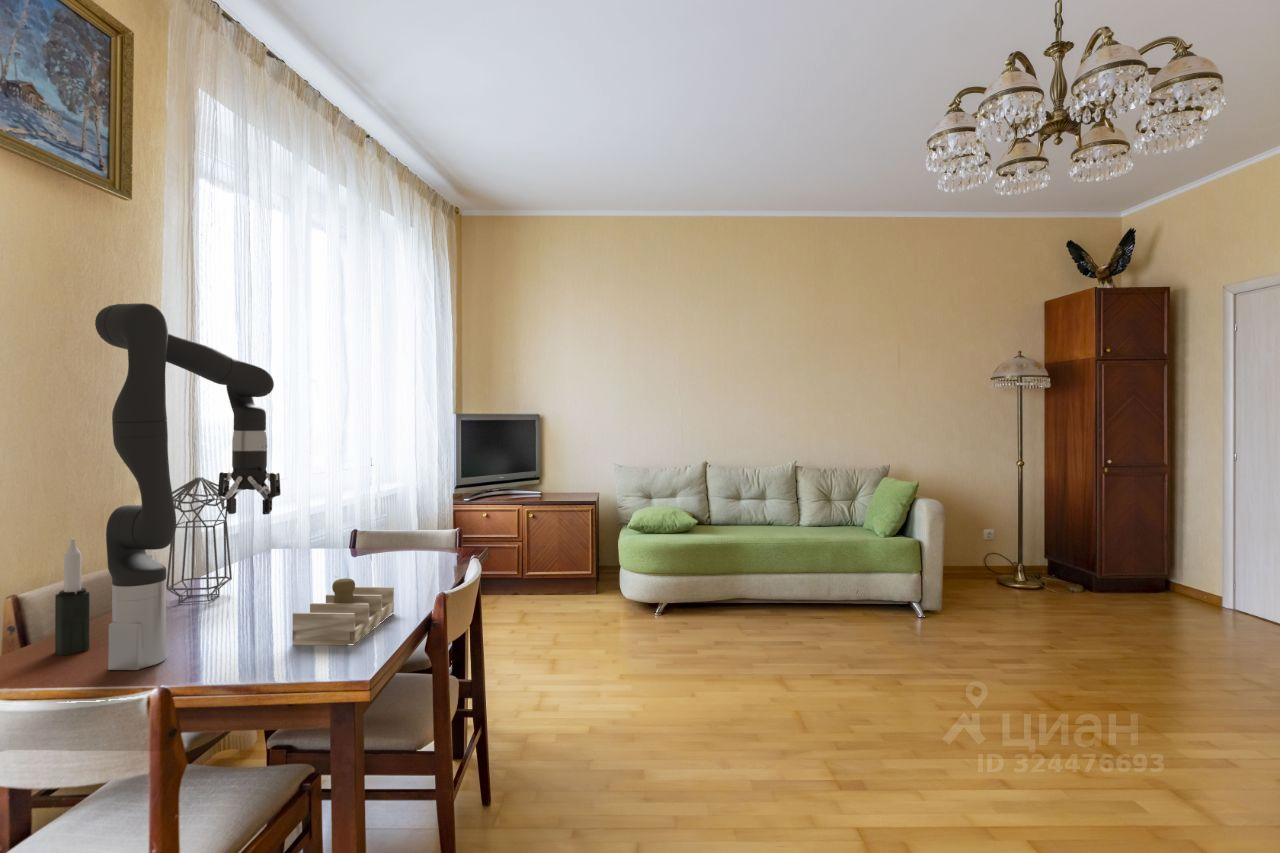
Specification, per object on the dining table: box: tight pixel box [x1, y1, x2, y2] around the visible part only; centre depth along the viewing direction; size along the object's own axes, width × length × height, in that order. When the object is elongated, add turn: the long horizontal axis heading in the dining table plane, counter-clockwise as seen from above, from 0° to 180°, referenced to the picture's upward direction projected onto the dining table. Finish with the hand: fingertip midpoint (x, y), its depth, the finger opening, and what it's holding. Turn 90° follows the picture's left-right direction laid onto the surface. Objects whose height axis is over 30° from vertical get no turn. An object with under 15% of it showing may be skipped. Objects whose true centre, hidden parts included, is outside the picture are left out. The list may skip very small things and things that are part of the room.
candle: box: [54, 537, 91, 656], centre depth 150 cm, size 5×5×25 cm
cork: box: [331, 577, 356, 603], centre depth 168 cm, size 6×6×11 cm
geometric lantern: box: [166, 476, 233, 604], centre depth 193 cm, size 16×16×35 cm
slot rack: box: [291, 586, 395, 646], centre depth 168 cm, size 25×14×7 cm, turn 0°
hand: (249, 513), depth 169 cm, fingers open, 8 cm apart
